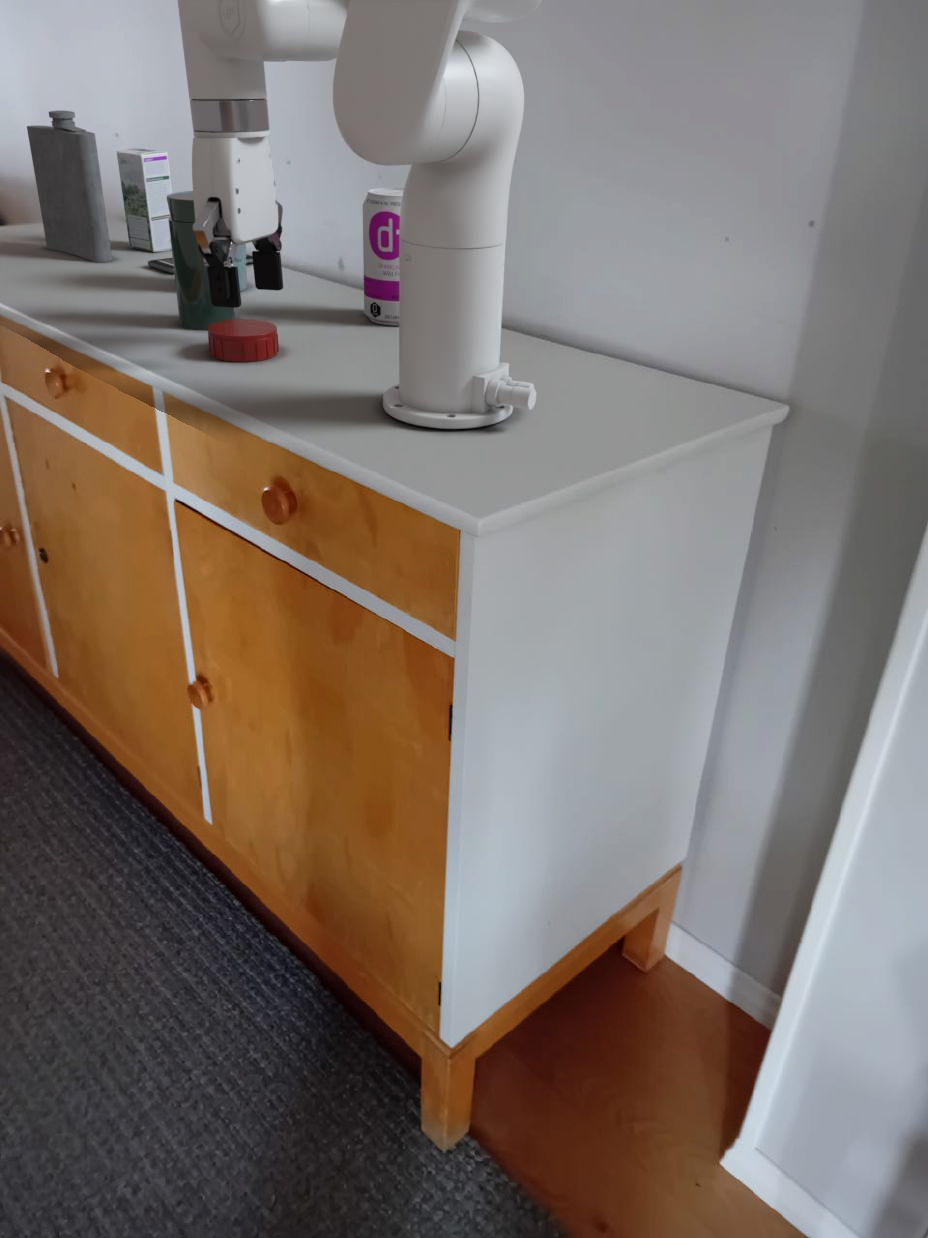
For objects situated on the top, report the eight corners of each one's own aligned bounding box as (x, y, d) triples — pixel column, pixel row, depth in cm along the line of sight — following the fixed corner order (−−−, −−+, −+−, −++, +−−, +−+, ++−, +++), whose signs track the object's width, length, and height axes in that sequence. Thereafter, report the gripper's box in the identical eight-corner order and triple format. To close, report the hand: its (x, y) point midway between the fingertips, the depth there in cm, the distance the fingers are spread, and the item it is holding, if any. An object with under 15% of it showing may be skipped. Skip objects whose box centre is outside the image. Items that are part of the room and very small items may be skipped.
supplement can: (420, 329, 122) (422, 198, 115) (356, 323, 124) (353, 193, 116) (435, 314, 129) (438, 189, 122) (374, 309, 131) (373, 185, 123)
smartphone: (258, 257, 153) (170, 268, 144) (258, 262, 153) (171, 273, 144) (231, 250, 158) (145, 260, 148) (231, 254, 158) (146, 265, 149)
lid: (200, 359, 108) (197, 333, 107) (222, 341, 115) (220, 316, 113) (267, 364, 107) (265, 338, 106) (286, 345, 114) (285, 321, 112)
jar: (246, 321, 123) (236, 195, 116) (211, 332, 118) (199, 202, 110) (204, 313, 125) (192, 190, 118) (168, 324, 120) (153, 196, 113)
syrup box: (180, 247, 162) (170, 150, 155) (152, 252, 158) (140, 152, 151) (155, 243, 165) (144, 147, 158) (127, 248, 160) (114, 149, 153)
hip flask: (43, 247, 159) (19, 106, 149) (66, 244, 161) (44, 106, 151) (97, 262, 150) (76, 114, 140) (121, 259, 153) (102, 113, 142)
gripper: (238, 116, 107) (254, 281, 115) (149, 123, 93) (175, 311, 101) (302, 117, 105) (314, 285, 113) (221, 124, 91) (242, 316, 99)
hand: (249, 297), depth 107 cm, fingers open, 9 cm apart
